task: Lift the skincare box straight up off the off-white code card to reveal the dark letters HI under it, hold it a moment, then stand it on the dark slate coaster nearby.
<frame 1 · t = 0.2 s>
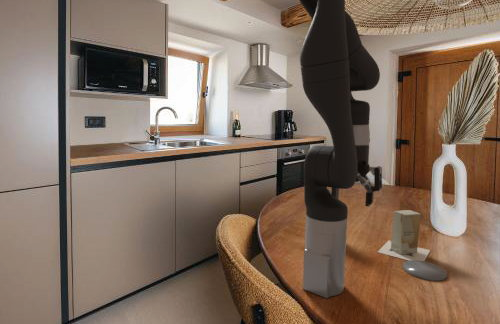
hand: (351, 203, 79), 17 cm above the table, tool pointing down, fingers open, 8 cm apart
beverage bottle: (319, 235, 103), on the table
code card: (404, 251, 90), on the table
skincare box: (404, 251, 90), resting on code card
slate coaster: (424, 271, 78), on the table
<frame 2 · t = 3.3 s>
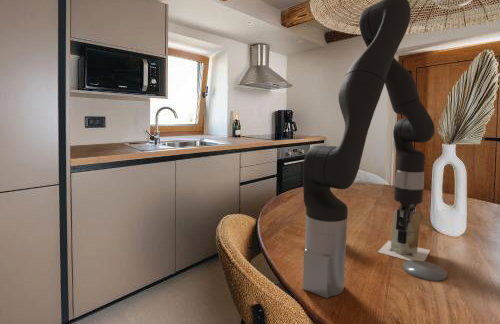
hand: (405, 239, 89), 4 cm above the table, tool pointing down, fingers closed on skincare box, 7 cm apart
skincare box: (404, 251, 90), resting on code card, touching gripper
everything else where it was.
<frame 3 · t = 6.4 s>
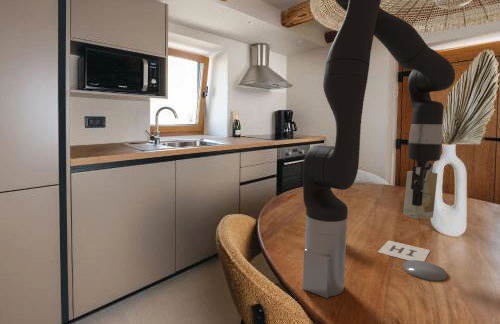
hand: (419, 202, 80), 17 cm above the table, tool pointing down, fingers closed on skincare box, 7 cm apart
skincare box: (418, 217, 80), point 13 cm above the table, touching gripper
everything else where it was.
when the fingers open (5 cm above the table, at t = 9.7 s): skincare box stays where it is, resting on slate coaster.
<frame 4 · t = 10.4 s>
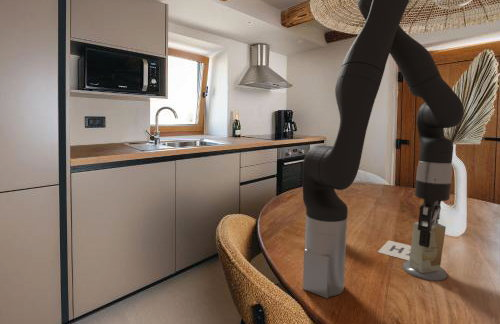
hand: (427, 241, 76), 8 cm above the table, tool pointing down, fingers open, 8 cm apart
skincare box: (424, 268, 78), point 1 cm above the table, touching slate coaster
everything else where it was.
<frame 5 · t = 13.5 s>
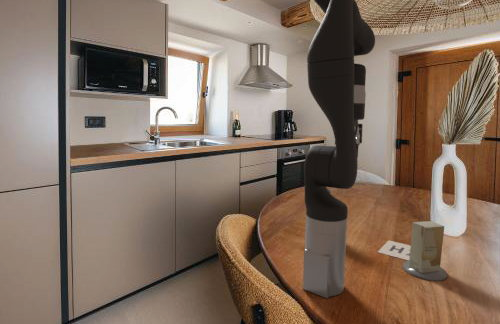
hand: (348, 159, 86), 28 cm above the table, tool pointing down, fingers open, 8 cm apart
nothing on the table moved.
at the end: skincare box inside the target area on the slate coaster (0.2 cm from its centre), point 0.4 cm above the slate coaster's base; skincare box tilted 0°; the gripper is holding nothing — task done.
